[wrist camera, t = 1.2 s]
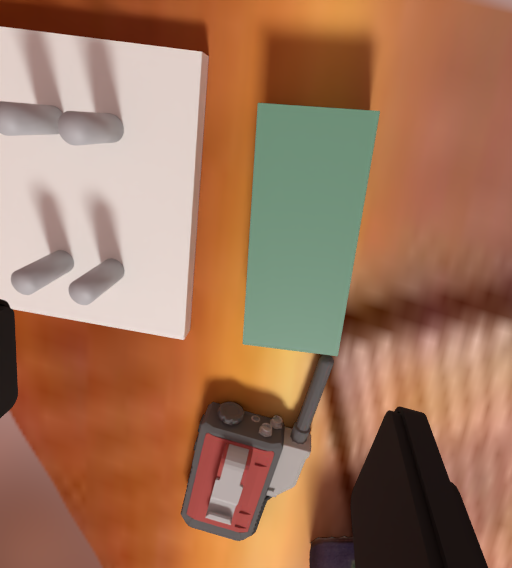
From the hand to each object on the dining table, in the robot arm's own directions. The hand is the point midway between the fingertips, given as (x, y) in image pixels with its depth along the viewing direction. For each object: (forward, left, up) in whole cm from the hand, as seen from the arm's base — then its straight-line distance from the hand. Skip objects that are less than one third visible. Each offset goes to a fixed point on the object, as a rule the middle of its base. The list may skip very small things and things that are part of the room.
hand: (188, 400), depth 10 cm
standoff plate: (+12, 0, -18) cm, 21 cm away
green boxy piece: (-2, 0, -18) cm, 18 cm away
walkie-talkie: (-1, +18, -18) cm, 25 cm away
